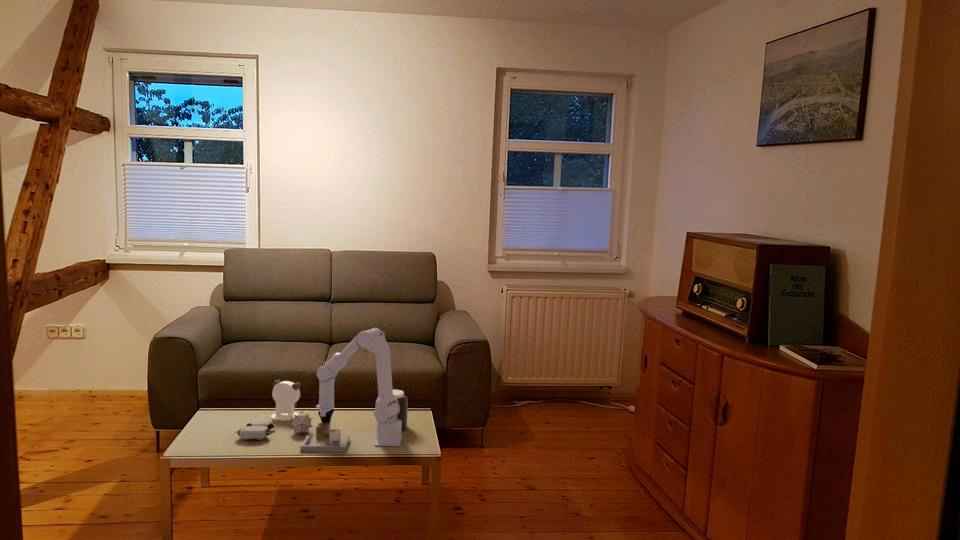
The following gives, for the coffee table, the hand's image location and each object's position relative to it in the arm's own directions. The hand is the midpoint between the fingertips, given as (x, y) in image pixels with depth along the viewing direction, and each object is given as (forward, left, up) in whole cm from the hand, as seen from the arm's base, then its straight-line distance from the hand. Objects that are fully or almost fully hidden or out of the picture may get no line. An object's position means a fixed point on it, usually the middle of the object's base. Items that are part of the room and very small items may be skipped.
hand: (326, 428), depth 243 cm
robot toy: (+25, +7, -1) cm, 26 cm away
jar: (-26, -4, -1) cm, 26 cm away
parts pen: (-3, +16, -1) cm, 16 cm away
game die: (+9, +3, -1) cm, 9 cm away
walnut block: (0, +6, -1) cm, 6 cm away
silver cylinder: (-6, +17, -1) cm, 18 cm away
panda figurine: (+20, -16, -1) cm, 26 cm away
